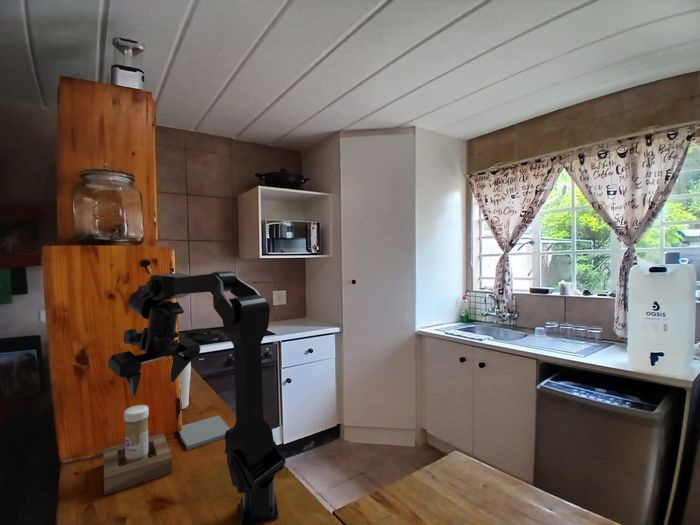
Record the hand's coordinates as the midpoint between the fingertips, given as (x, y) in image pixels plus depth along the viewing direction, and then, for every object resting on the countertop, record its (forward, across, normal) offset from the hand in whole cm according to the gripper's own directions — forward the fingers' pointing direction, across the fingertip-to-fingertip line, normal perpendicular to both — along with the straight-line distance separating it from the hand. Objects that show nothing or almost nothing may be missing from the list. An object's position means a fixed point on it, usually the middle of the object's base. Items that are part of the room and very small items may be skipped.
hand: (153, 387), depth 83 cm
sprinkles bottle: (+14, +6, +7) cm, 17 cm away
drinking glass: (+19, -17, -12) cm, 28 cm away
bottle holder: (+14, +6, +7) cm, 17 cm away
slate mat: (+14, -12, +6) cm, 20 cm away
